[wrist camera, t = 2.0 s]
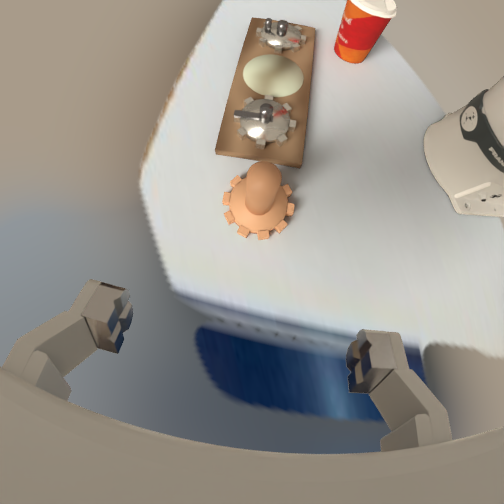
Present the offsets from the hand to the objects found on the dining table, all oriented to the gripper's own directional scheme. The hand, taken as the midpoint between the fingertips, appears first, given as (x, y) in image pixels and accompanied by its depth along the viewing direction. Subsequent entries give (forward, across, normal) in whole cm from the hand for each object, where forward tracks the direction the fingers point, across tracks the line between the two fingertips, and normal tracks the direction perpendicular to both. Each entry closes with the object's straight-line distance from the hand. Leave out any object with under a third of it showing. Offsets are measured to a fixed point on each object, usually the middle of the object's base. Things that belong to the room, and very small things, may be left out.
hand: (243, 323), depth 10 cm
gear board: (+40, +1, -4) cm, 40 cm away
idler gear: (+26, 0, +10) cm, 28 cm away
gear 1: (+45, +1, -12) cm, 47 cm away
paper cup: (+48, -11, -12) cm, 51 cm away
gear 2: (+33, +1, +1) cm, 33 cm away
